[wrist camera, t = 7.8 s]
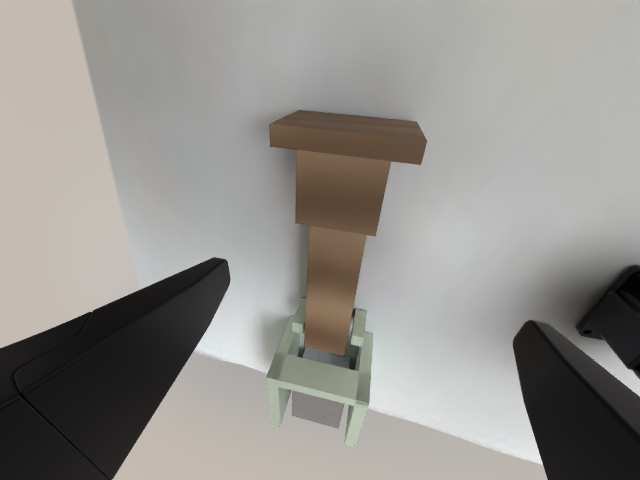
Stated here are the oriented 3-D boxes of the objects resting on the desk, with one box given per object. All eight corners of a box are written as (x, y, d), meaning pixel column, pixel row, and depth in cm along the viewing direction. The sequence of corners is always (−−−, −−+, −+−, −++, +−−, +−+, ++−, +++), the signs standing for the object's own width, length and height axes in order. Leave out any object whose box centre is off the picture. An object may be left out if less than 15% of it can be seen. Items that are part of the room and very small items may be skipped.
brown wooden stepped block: (299, 110, 16) (269, 124, 12) (417, 121, 15) (427, 141, 11) (296, 312, 26) (278, 357, 22) (367, 327, 25) (363, 377, 21)
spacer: (344, 404, 25) (338, 428, 28) (350, 356, 29) (345, 381, 32) (292, 390, 26) (291, 415, 28) (305, 346, 30) (304, 371, 32)
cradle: (378, 313, 25) (375, 383, 19) (360, 380, 31) (354, 447, 25) (290, 295, 26) (264, 356, 20) (290, 363, 32) (270, 424, 27)
